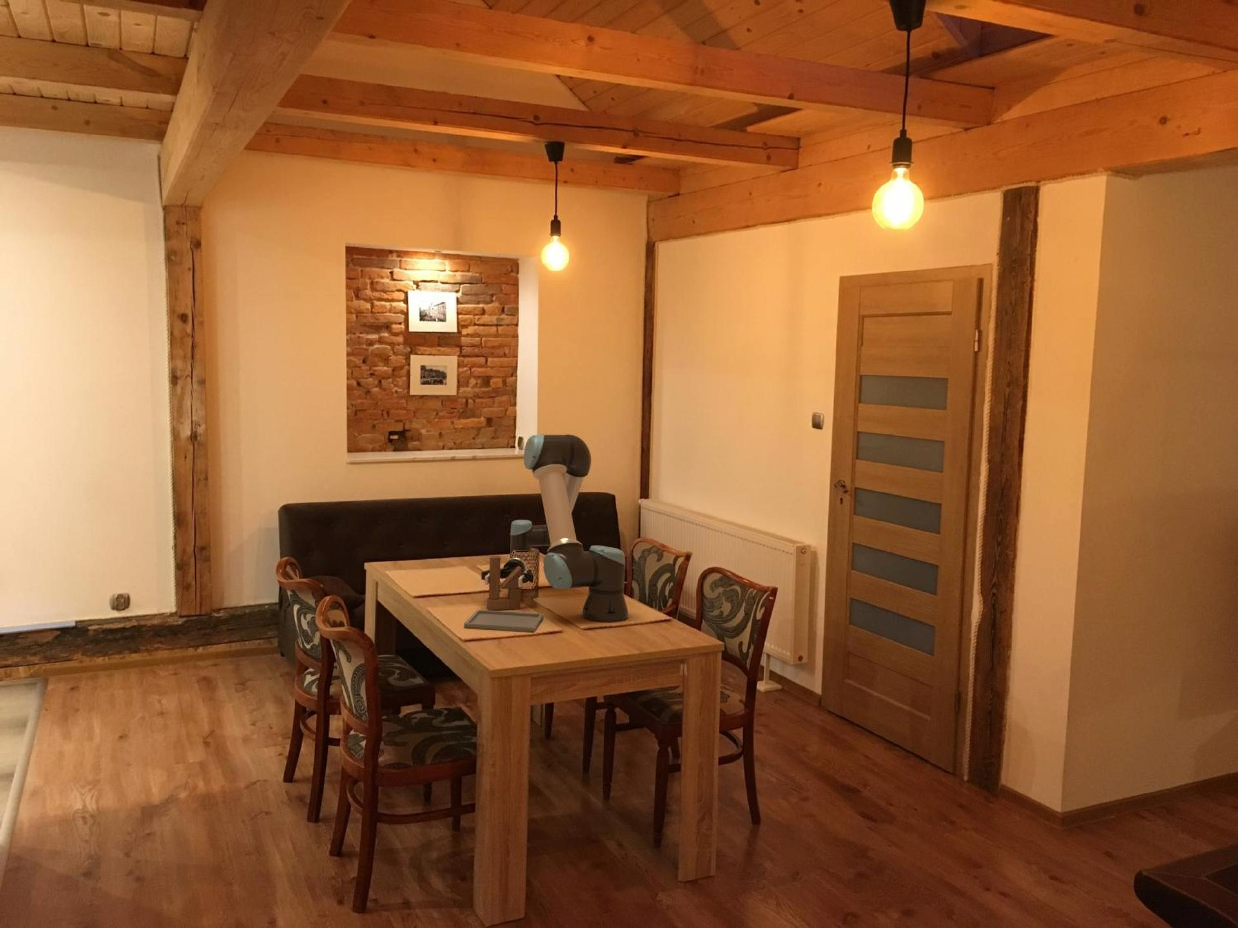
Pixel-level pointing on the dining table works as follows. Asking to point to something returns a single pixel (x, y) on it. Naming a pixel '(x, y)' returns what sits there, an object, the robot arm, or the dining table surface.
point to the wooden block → (503, 587)
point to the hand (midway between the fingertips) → (502, 581)
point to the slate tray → (504, 621)
